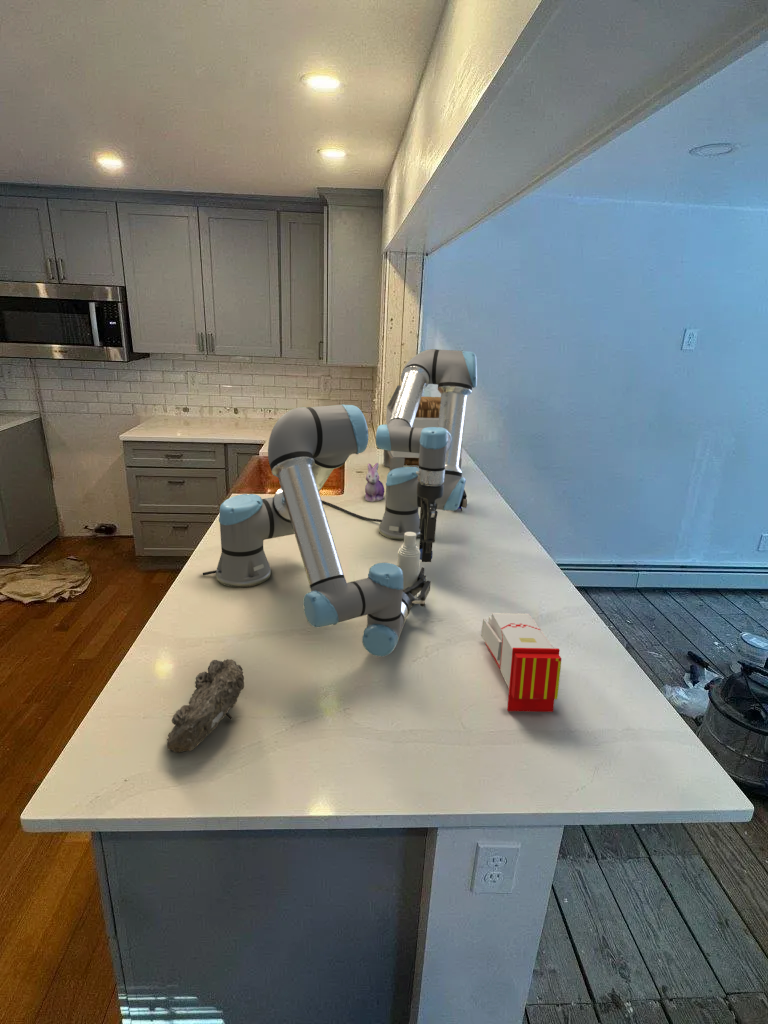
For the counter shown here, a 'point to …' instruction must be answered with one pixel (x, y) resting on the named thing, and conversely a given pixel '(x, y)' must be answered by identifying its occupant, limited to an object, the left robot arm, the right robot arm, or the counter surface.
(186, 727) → the fossil
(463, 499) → the figurine character
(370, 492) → the figurine
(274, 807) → the counter surface
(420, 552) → the cap
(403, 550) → the bottle
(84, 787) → the counter surface
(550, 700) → the toy
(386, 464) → the grey slatted crate
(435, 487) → the right robot arm
